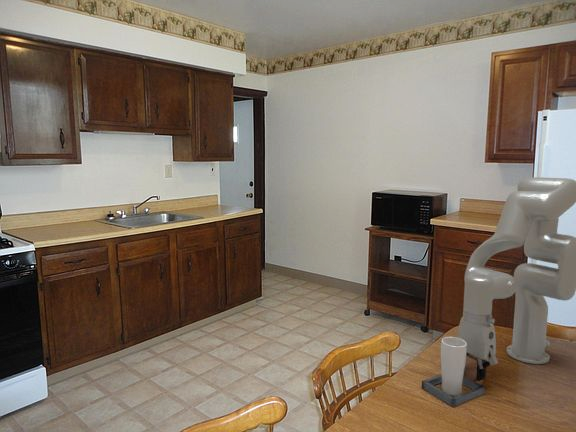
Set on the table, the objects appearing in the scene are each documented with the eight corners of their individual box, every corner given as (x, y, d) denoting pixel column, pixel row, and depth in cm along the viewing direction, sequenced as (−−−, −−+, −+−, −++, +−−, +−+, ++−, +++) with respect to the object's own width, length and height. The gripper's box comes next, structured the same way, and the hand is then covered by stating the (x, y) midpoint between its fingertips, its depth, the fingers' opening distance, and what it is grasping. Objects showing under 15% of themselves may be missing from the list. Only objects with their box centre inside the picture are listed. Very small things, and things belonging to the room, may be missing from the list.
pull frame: (460, 372, 128) (461, 348, 127) (493, 389, 118) (494, 363, 117) (421, 387, 120) (422, 361, 119) (453, 407, 110) (454, 379, 109)
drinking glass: (466, 399, 114) (469, 347, 112) (440, 396, 115) (443, 345, 113) (461, 386, 120) (464, 337, 118) (437, 383, 122) (439, 335, 120)
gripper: (512, 324, 114) (507, 385, 117) (461, 305, 129) (457, 361, 131) (495, 329, 111) (491, 393, 113) (444, 310, 125) (441, 366, 128)
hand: (473, 375), depth 122 cm, fingers closed on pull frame, 4 cm apart
